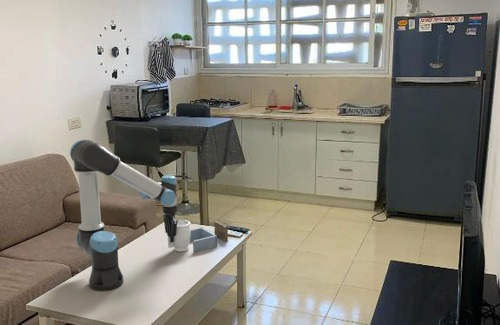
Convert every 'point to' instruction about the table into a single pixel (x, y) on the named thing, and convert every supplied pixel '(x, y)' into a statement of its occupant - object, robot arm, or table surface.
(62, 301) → the table surface
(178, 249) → the jar
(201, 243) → the grey shallow box
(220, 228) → the block
